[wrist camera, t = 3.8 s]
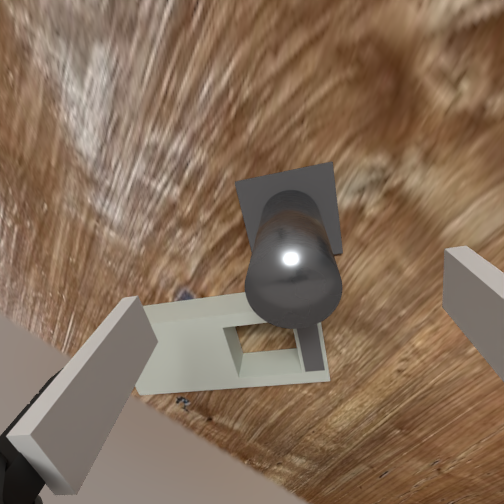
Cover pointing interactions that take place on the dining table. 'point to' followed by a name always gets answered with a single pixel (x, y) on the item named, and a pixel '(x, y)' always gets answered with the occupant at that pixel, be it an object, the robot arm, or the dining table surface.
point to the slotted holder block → (222, 349)
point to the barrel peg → (292, 264)
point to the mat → (303, 179)
